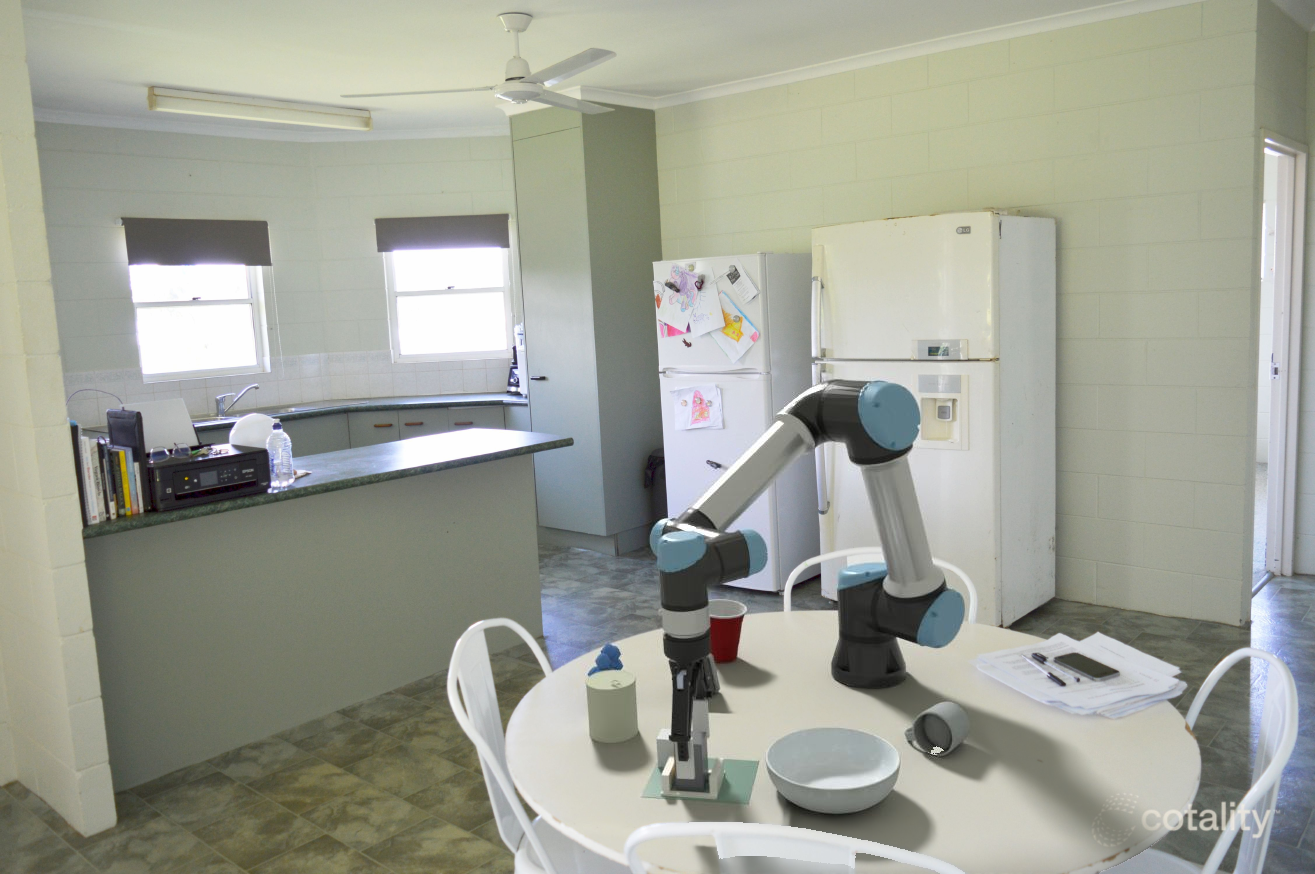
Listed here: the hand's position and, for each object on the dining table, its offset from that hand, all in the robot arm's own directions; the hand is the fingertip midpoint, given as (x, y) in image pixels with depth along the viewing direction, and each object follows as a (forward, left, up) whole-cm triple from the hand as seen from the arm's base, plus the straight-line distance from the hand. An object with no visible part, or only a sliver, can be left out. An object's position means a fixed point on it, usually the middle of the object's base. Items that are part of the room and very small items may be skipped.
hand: (694, 756), depth 156 cm
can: (+18, -17, -6) cm, 26 cm away
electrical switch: (+7, -39, -6) cm, 40 cm away
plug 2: (0, 0, -5) cm, 5 cm away
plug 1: (+5, -7, -4) cm, 10 cm away
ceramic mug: (-38, -21, -6) cm, 44 cm away
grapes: (+24, -32, -6) cm, 40 cm away
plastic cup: (+4, -58, -6) cm, 58 cm away
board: (-1, -2, -6) cm, 6 cm away
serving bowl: (-22, -2, -6) cm, 23 cm away
